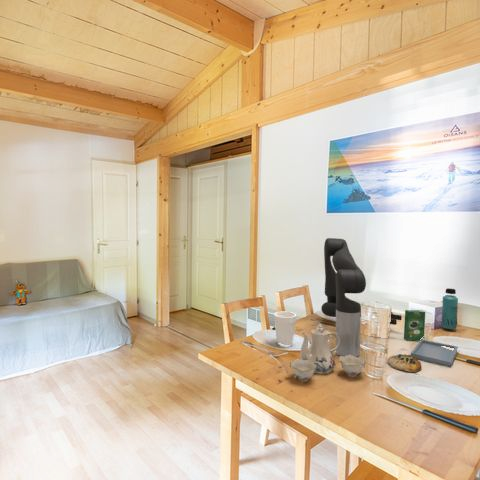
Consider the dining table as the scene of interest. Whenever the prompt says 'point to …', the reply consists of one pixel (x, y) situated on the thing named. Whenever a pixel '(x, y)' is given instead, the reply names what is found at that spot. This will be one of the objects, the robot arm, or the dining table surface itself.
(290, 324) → the foam cup
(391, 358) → the bread roll
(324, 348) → the chinaware
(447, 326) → the beverage bottle
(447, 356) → the dish
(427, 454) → the dining table surface
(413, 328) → the coffee box
